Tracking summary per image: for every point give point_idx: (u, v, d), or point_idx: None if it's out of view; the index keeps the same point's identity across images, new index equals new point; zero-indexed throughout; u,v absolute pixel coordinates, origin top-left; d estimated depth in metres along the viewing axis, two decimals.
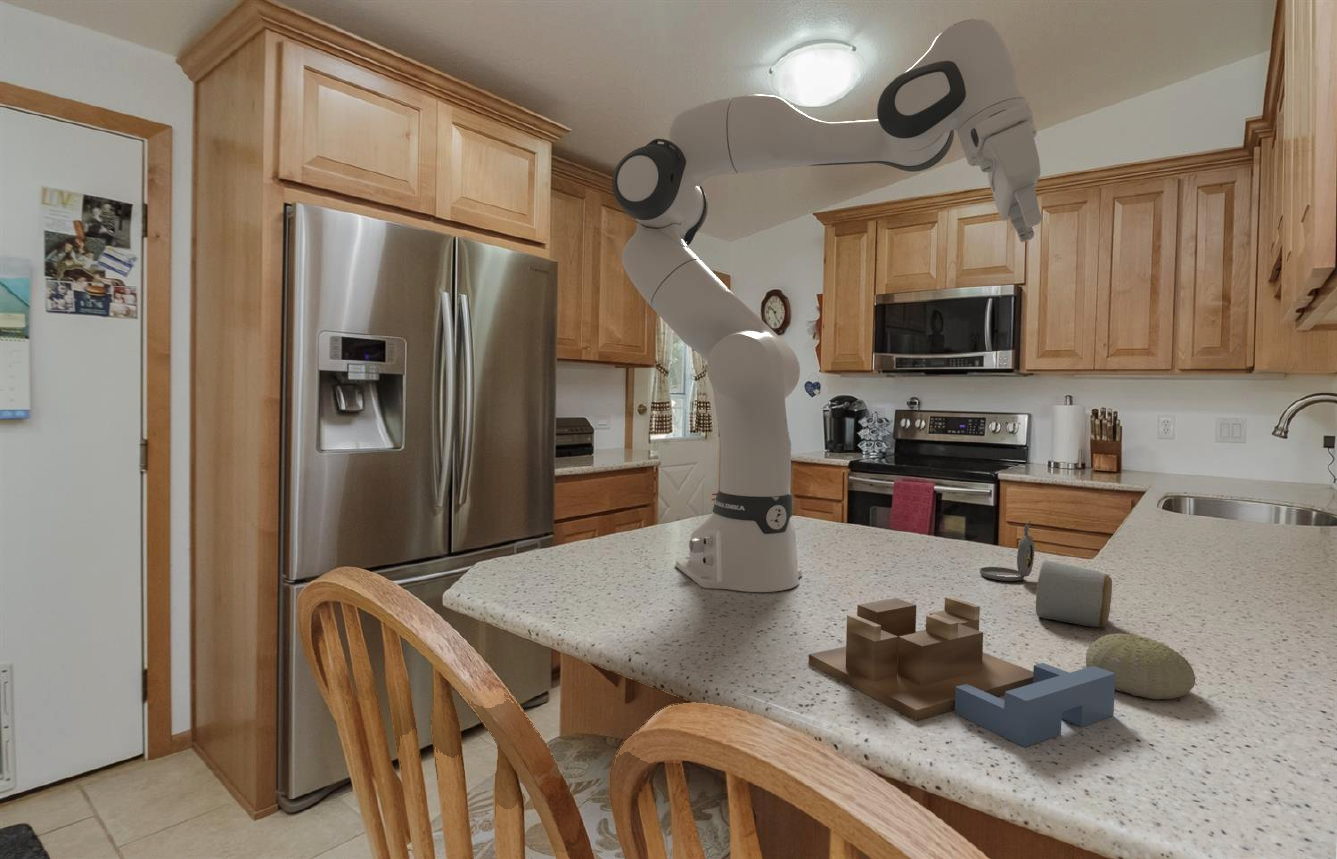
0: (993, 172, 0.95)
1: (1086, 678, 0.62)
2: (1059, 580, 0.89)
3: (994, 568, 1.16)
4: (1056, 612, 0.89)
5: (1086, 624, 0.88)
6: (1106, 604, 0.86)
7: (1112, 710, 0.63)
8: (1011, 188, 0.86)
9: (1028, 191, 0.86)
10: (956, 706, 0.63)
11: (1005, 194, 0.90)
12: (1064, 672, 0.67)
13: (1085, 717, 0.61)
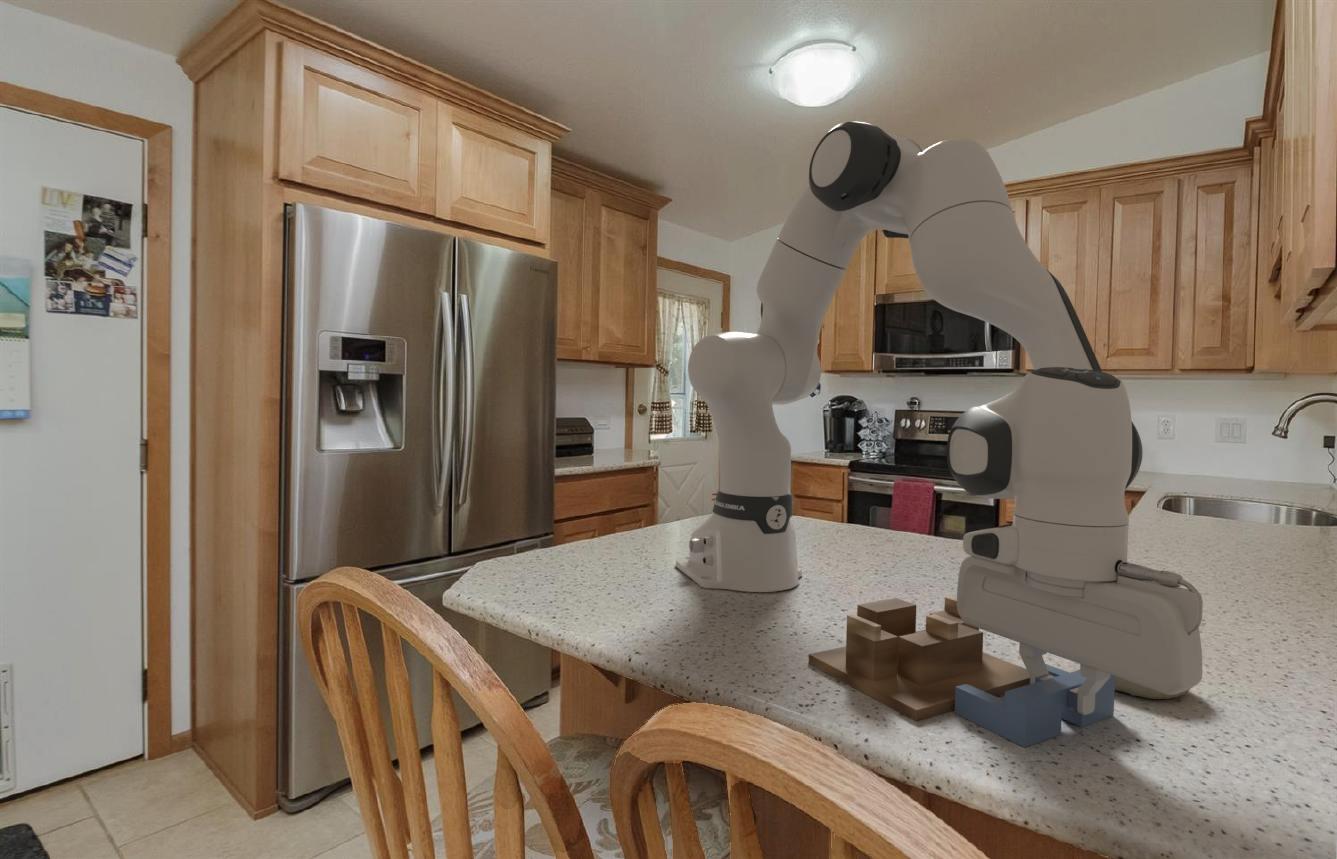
0: None
1: (1086, 678, 0.62)
2: None
3: None
4: None
5: None
6: None
7: (1112, 710, 0.63)
8: None
9: None
10: (956, 706, 0.63)
11: None
12: (1064, 672, 0.67)
13: (1085, 717, 0.61)
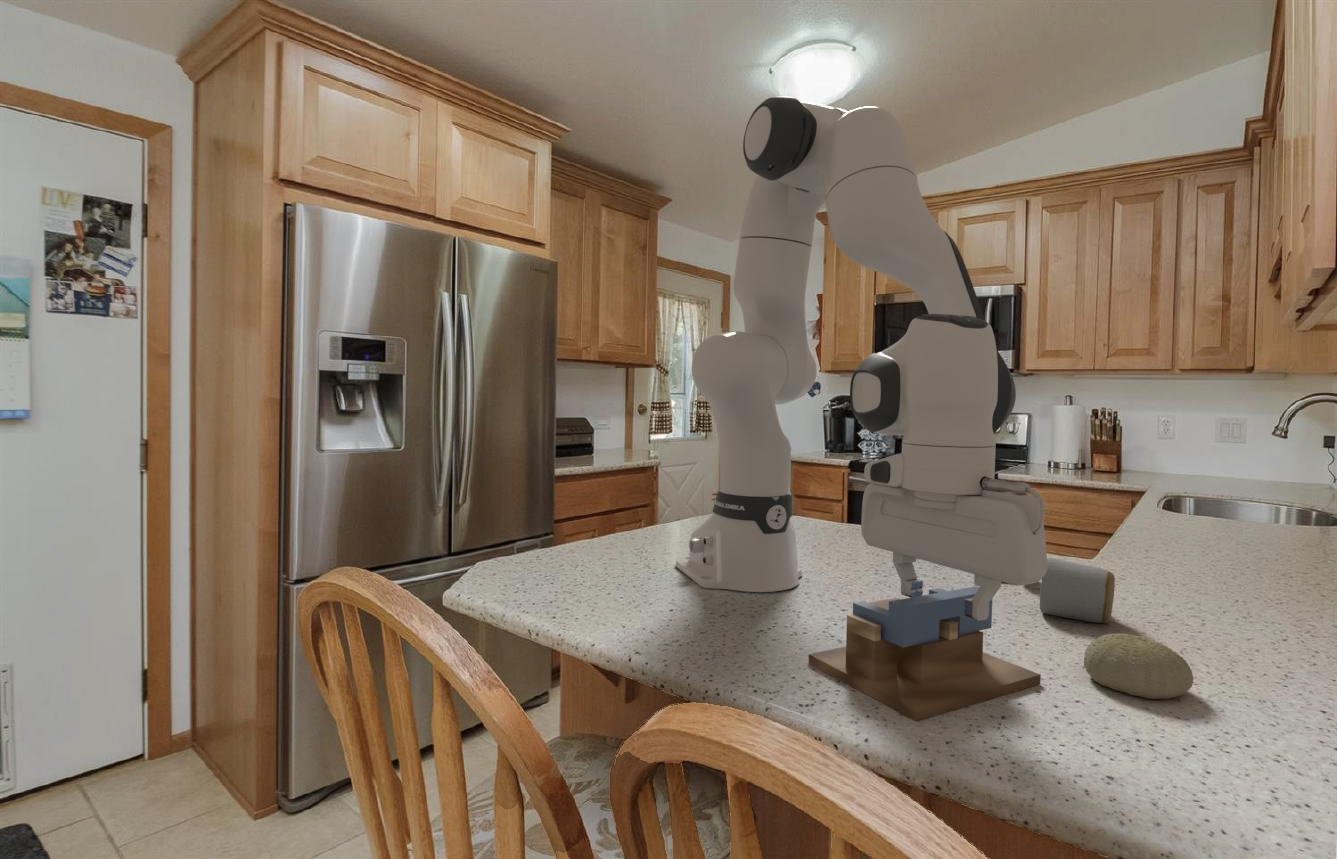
0: None
1: (964, 593, 0.71)
2: (1063, 577, 0.91)
3: None
4: (1060, 608, 0.91)
5: (1089, 620, 0.90)
6: (1109, 600, 0.87)
7: (990, 623, 0.72)
8: None
9: None
10: None
11: None
12: None
13: (963, 627, 0.70)
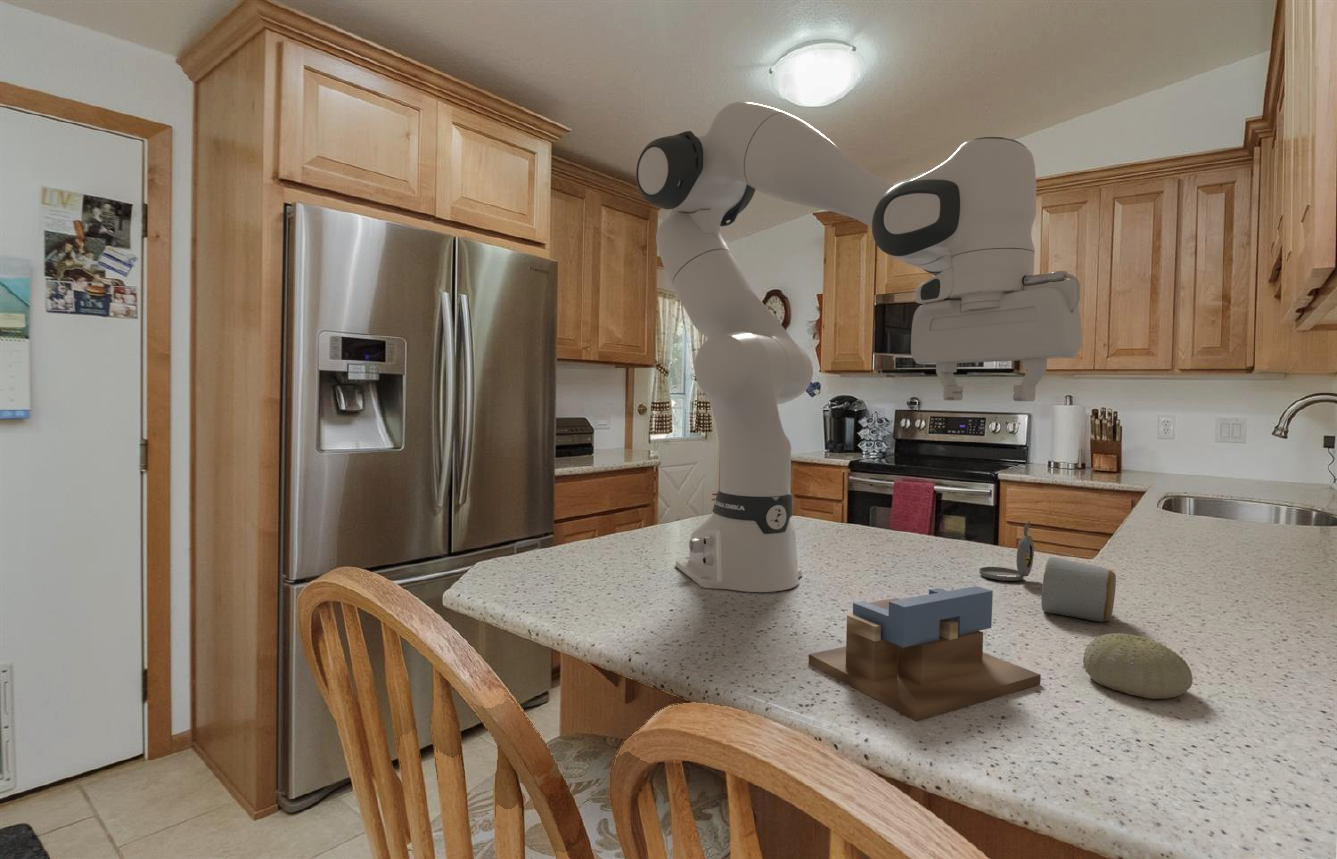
0: None
1: (964, 593, 0.71)
2: (1064, 575, 0.91)
3: (994, 568, 1.16)
4: (1061, 607, 0.91)
5: (1090, 618, 0.90)
6: (1110, 599, 0.88)
7: (990, 623, 0.72)
8: None
9: None
10: None
11: None
12: None
13: (963, 627, 0.70)
